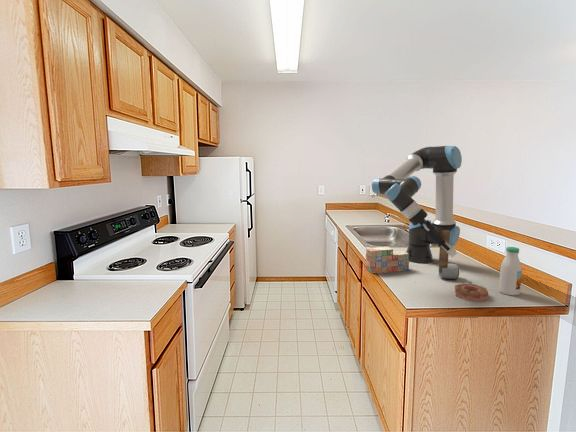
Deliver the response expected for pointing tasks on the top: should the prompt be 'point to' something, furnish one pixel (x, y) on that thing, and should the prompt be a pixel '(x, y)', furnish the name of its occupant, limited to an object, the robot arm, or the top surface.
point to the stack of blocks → (386, 260)
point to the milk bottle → (510, 273)
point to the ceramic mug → (449, 272)
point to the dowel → (443, 254)
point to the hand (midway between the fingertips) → (453, 253)
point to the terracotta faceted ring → (471, 292)
